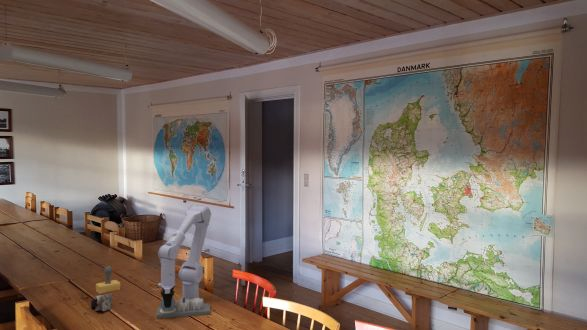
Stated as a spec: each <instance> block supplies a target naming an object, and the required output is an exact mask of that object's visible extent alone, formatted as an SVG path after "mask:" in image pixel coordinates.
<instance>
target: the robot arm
mask: <svg viewBox="0 0 587 330" xmlns="http://www.w3.org/2000/svg"><path fill="white" fill-rule="evenodd" d="M211 217H212V212H211V209H210V207H208V206H199V205H198V206H197V205H196V206H195V205H190V206H189V207H187V210H186V211H185V218H184V220H183V221H182V222H181V225H180V227H178V229H177V230H175V231H173V233H172V234H171V236H170V237H169V238H168V239H167V242H165V244H163V245H161V246H160V247H159V249H158V251H157V256H158V258H159V262H160V282H158V284H157V285H158V287H161V289H162V290H161V291H160V295H161V297H162V299H163V300H164V306H165V308H170V306H171V301H172V298H174V294H175V290H174V289H175V287H176V258H178V255H179V251H180V247H181V246H182V244H183V243H184V241H185V239H186V236H185V235H186V234H187V232H188V231H189V230H190V229H191V227H192V226H193V225H194V227H195V229H194V234H193V238H192V242H191V246H190V249H189V254H188V258H187V261H184V262H183V263H182V264H181V267H180V268H179V269H180V270H179V271H178V279H179V281H180V282H181V284H182V297H181V299H183V298H185V299H189V300H190V299H193V298H200V296H199V285H200V283H201V281H203V276H204V273H203V272H204V271H203V270H204V267H203V266H202V264H201V263H200V261H201V257H202V252H203V248H204V243H205V239H206V235H207V231H208V226H209V225H210V221H211Z"/></svg>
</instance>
